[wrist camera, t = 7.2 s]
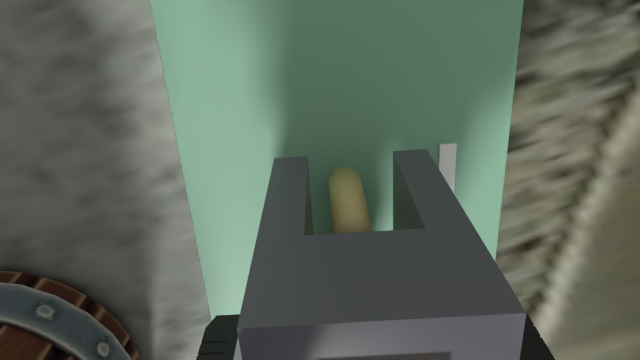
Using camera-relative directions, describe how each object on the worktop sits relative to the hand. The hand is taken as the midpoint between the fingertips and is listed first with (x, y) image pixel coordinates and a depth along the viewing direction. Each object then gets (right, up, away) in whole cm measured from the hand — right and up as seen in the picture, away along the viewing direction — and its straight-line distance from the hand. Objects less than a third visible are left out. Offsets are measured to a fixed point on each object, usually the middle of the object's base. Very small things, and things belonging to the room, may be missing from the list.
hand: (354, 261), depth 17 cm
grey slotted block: (0, 0, 0) cm, 0 cm away
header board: (0, +1, +2) cm, 3 cm away
